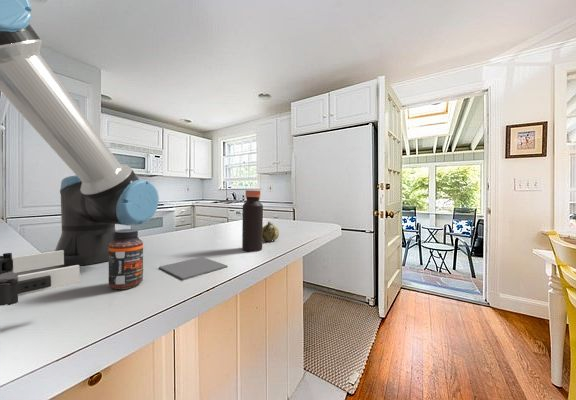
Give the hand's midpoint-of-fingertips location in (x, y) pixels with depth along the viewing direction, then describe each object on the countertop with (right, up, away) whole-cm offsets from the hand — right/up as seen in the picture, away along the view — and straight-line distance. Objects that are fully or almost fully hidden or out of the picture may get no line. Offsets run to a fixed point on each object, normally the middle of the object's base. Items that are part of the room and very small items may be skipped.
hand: (70, 264), depth 43 cm
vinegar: (+27, -5, +39) cm, 47 cm away
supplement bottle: (+5, -6, +7) cm, 11 cm away
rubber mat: (+15, -6, +19) cm, 24 cm away
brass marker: (+5, -6, +7) cm, 11 cm away
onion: (+32, -5, +53) cm, 62 cm away
